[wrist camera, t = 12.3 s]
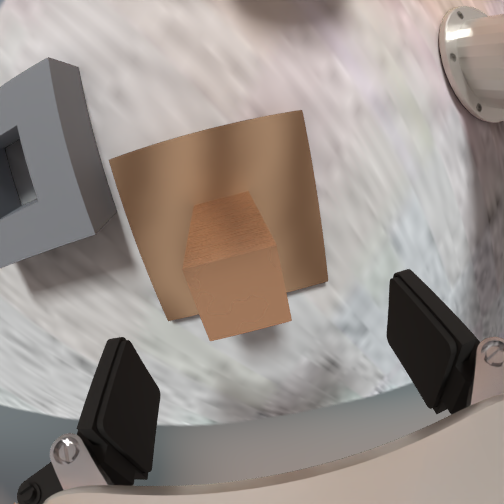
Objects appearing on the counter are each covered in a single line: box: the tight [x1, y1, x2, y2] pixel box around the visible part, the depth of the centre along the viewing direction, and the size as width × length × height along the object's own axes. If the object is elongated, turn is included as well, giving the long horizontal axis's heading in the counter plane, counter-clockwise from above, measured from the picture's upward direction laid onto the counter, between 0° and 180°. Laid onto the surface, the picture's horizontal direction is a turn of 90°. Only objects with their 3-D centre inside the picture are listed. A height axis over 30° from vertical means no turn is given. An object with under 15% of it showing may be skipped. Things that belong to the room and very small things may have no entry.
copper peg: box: [182, 191, 292, 341], centre depth 18 cm, size 4×4×10 cm
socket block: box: [0, 57, 117, 268], centre depth 17 cm, size 12×12×5 cm
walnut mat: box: [109, 110, 328, 321], centre depth 23 cm, size 14×14×1 cm
